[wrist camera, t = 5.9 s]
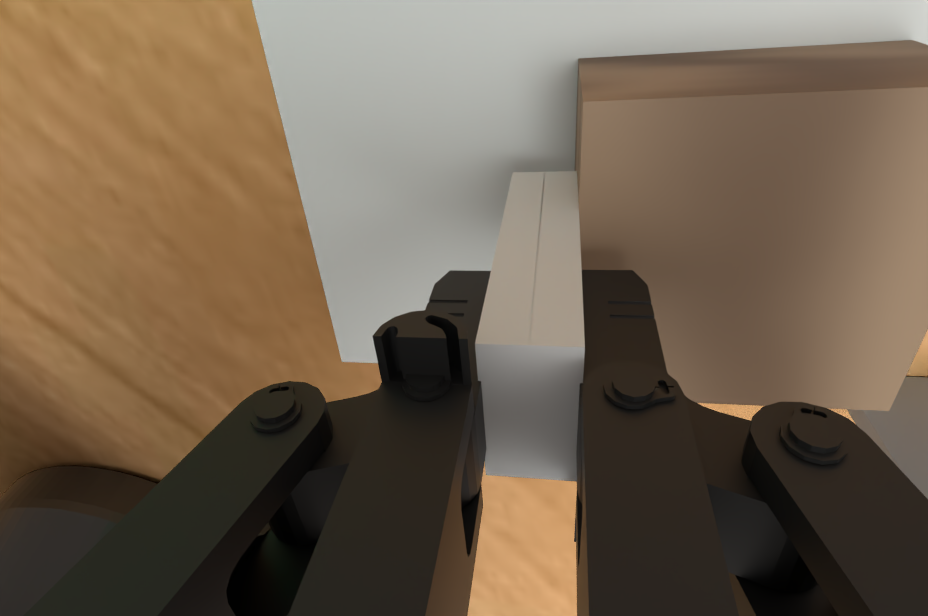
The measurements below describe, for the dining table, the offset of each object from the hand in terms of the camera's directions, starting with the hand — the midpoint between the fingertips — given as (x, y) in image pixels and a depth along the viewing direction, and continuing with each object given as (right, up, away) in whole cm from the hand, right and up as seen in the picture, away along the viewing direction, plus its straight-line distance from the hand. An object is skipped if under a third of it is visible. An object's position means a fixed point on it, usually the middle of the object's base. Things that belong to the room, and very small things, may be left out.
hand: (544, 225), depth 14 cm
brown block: (+4, +1, +1) cm, 5 cm away
